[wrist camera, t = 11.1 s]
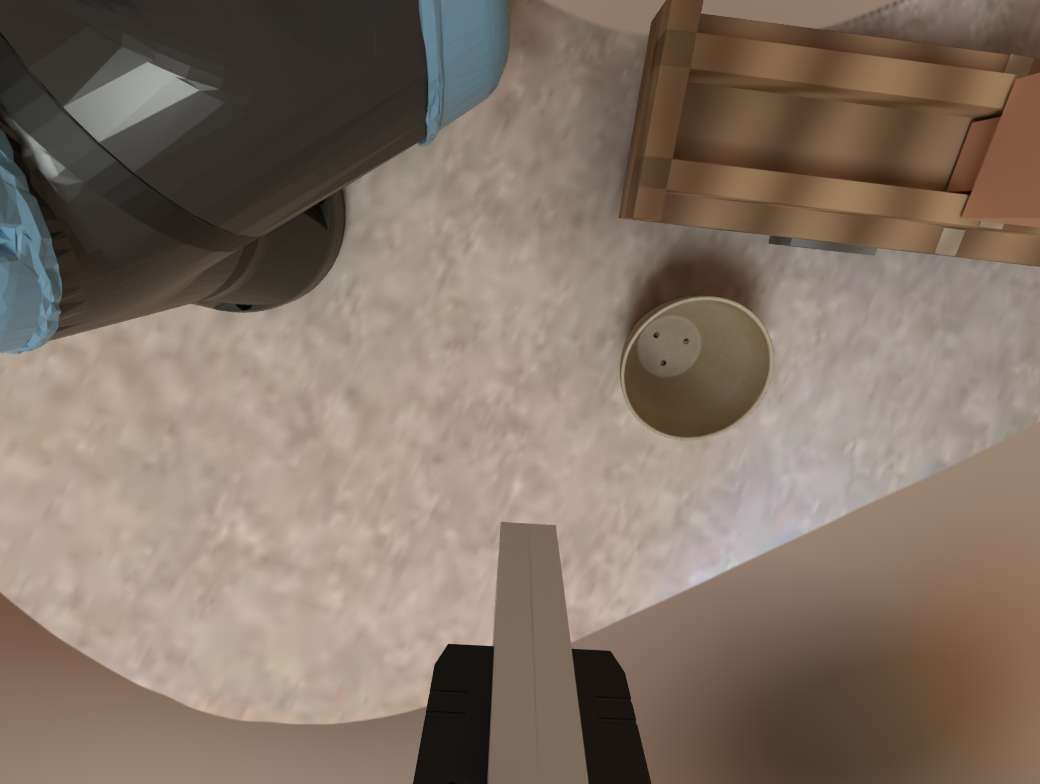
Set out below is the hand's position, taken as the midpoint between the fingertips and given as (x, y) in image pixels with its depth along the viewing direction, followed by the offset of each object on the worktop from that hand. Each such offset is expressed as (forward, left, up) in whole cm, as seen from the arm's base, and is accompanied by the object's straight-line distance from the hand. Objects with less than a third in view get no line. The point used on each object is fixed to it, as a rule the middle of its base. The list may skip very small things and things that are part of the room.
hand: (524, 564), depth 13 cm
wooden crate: (+8, +24, -26) cm, 37 cm away
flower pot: (+9, +7, -27) cm, 29 cm away
